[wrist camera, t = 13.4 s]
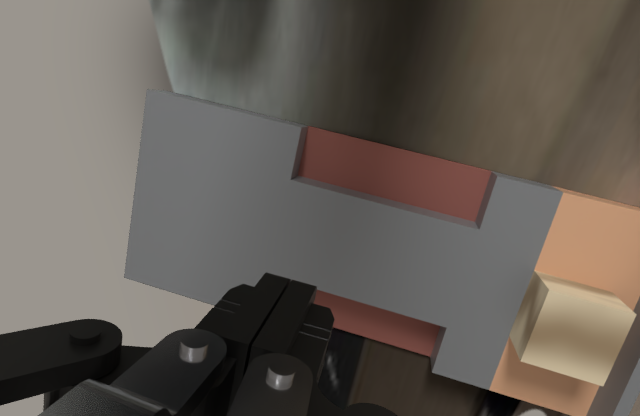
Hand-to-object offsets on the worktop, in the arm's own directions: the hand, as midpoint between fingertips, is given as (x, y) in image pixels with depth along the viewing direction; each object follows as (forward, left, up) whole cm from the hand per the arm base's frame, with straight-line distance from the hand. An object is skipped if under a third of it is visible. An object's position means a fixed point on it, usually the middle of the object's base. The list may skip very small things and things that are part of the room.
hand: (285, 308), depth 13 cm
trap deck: (+6, +2, -28) cm, 29 cm away
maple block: (+7, +18, -25) cm, 32 cm away
